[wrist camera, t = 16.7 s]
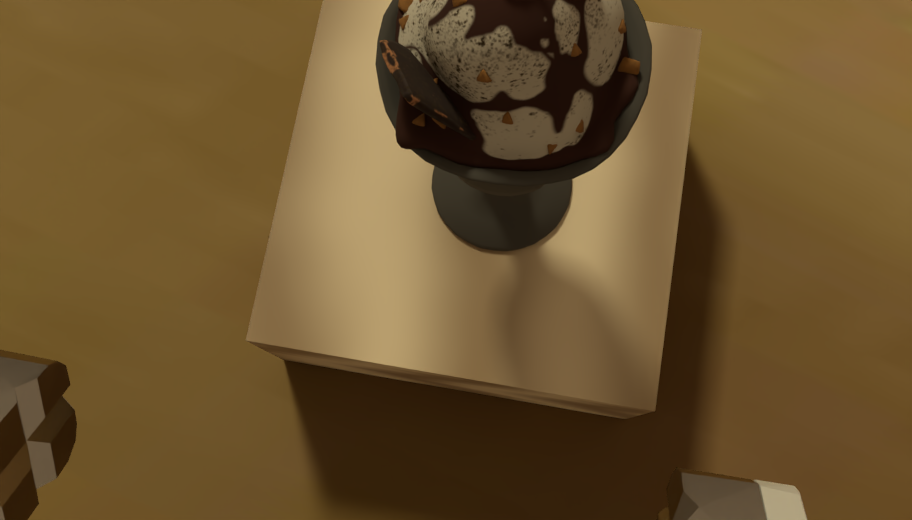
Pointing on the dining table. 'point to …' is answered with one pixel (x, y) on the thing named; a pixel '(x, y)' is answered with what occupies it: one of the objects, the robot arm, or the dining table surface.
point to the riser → (471, 248)
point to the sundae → (511, 103)
